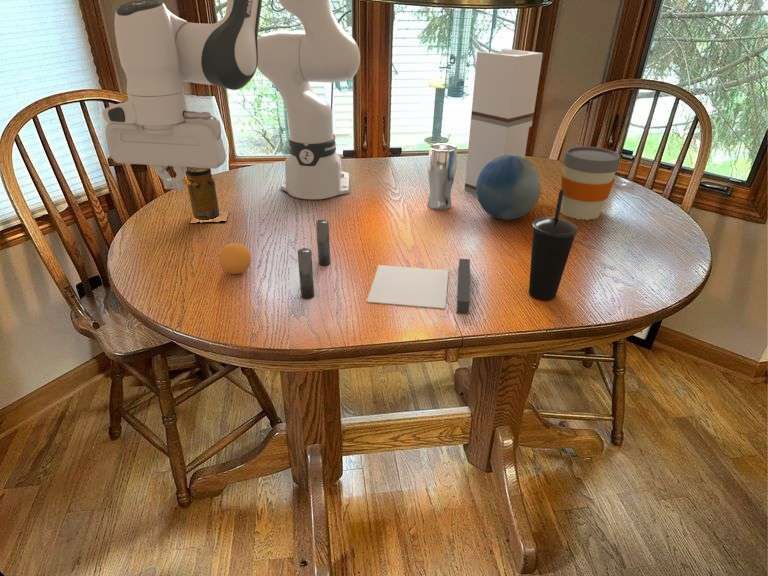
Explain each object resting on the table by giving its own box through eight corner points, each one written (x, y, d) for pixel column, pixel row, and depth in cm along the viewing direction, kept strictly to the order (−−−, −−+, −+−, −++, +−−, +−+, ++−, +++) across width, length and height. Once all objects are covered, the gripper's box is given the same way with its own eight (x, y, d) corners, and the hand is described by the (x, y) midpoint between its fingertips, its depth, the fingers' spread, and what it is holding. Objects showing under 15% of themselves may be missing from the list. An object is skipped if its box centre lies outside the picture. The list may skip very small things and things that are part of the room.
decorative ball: (481, 202, 137) (487, 144, 130) (539, 211, 132) (550, 152, 125) (466, 223, 125) (472, 161, 118) (530, 234, 120) (540, 170, 113)
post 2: (320, 260, 108) (317, 219, 104) (331, 260, 108) (329, 220, 103) (317, 265, 106) (314, 224, 102) (328, 266, 106) (326, 224, 101)
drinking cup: (556, 283, 101) (576, 182, 91) (569, 304, 94) (593, 198, 84) (516, 283, 101) (532, 182, 91) (527, 305, 94) (545, 198, 84)
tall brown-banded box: (521, 192, 144) (542, 53, 126) (497, 201, 138) (516, 56, 120) (488, 181, 151) (504, 48, 133) (464, 190, 145) (477, 51, 127)
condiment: (195, 212, 129) (186, 164, 123) (230, 211, 130) (223, 163, 124) (189, 224, 123) (179, 174, 117) (226, 223, 124) (218, 173, 118)
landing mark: (378, 265, 106) (378, 265, 106) (448, 271, 105) (448, 270, 105) (366, 302, 94) (366, 301, 94) (445, 309, 93) (445, 308, 93)
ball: (228, 263, 106) (224, 236, 103) (256, 266, 106) (253, 238, 103) (216, 278, 101) (211, 250, 98) (246, 280, 100) (242, 252, 97)
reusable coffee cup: (553, 219, 128) (564, 158, 121) (554, 201, 139) (565, 144, 131) (608, 225, 125) (623, 163, 117) (605, 207, 135) (619, 148, 128)
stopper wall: (458, 269, 105) (459, 258, 104) (468, 270, 105) (469, 259, 104) (456, 313, 92) (457, 300, 90) (468, 314, 91) (469, 301, 90)
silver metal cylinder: (443, 212, 131) (448, 152, 123) (420, 206, 134) (423, 147, 127) (458, 204, 136) (463, 146, 128) (435, 198, 139) (438, 141, 132)
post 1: (303, 291, 97) (299, 247, 93) (315, 292, 97) (313, 248, 92) (299, 298, 95) (295, 253, 91) (312, 299, 95) (309, 254, 90)
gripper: (225, 108, 91) (235, 186, 97) (114, 103, 93) (132, 179, 100) (210, 116, 85) (222, 198, 92) (92, 111, 87) (112, 191, 94)
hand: (174, 188), depth 96 cm, fingers closed
